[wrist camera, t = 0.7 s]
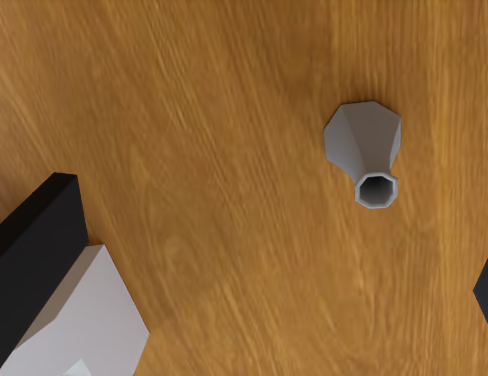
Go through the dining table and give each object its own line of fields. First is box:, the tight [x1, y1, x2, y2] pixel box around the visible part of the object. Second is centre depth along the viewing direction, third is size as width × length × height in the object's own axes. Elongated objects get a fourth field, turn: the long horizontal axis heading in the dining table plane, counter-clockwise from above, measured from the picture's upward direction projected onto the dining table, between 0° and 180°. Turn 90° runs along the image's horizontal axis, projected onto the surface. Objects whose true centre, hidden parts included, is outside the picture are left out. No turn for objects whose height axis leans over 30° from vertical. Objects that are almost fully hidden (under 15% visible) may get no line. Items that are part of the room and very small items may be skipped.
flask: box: [324, 101, 401, 209], centre depth 36 cm, size 7×7×10 cm
